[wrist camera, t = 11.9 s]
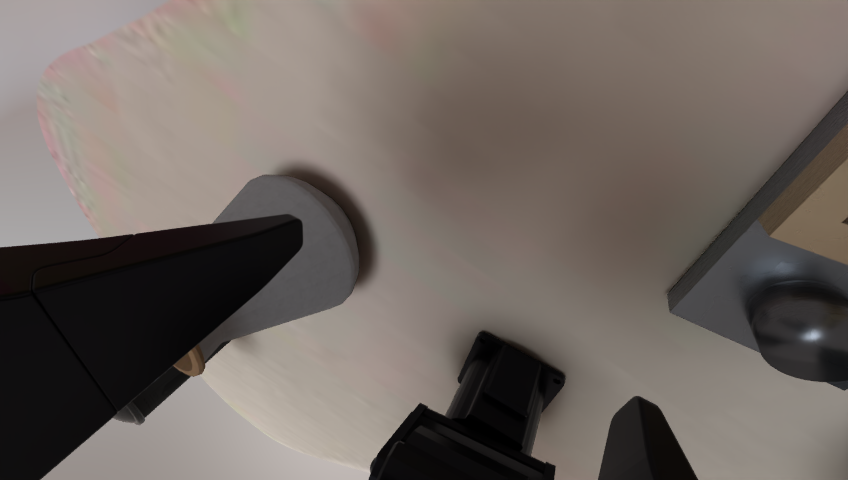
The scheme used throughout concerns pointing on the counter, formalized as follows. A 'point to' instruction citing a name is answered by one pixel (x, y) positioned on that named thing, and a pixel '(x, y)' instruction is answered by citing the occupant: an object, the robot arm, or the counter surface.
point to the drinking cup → (156, 394)
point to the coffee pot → (302, 276)
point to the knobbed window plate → (784, 264)
